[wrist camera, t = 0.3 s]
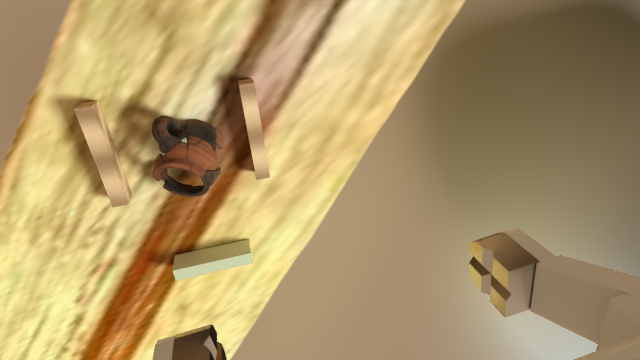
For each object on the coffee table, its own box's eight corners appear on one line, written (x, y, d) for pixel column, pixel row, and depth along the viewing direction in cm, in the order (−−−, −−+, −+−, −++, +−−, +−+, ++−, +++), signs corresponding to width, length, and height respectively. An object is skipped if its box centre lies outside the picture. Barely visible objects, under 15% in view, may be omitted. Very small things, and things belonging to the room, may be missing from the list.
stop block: (174, 255, 61) (172, 270, 58) (248, 238, 64) (250, 253, 60) (178, 264, 62) (176, 280, 59) (250, 248, 64) (253, 262, 61)
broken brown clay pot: (240, 149, 57) (229, 192, 52) (191, 164, 61) (176, 206, 55) (187, 89, 49) (168, 134, 44) (134, 110, 52) (110, 154, 47)
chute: (81, 103, 49) (73, 109, 46) (252, 78, 53) (254, 83, 50) (117, 197, 55) (112, 207, 52) (267, 169, 59) (269, 177, 56)
